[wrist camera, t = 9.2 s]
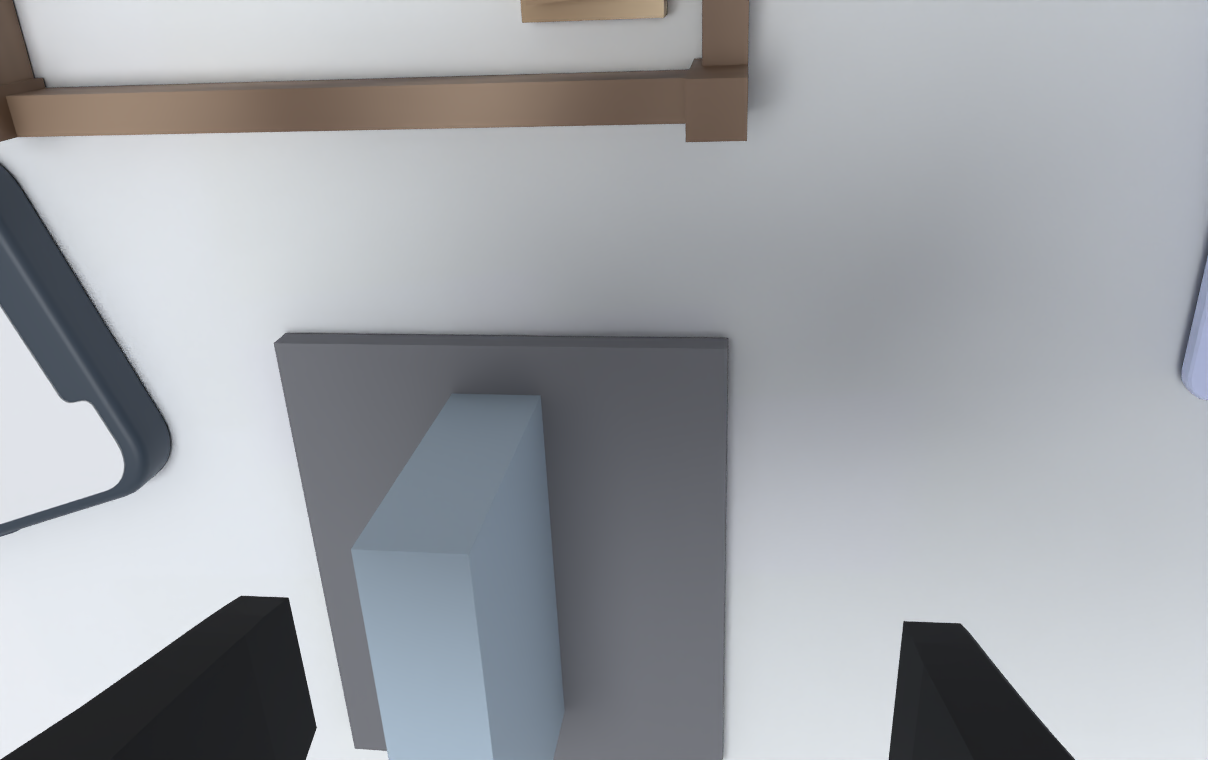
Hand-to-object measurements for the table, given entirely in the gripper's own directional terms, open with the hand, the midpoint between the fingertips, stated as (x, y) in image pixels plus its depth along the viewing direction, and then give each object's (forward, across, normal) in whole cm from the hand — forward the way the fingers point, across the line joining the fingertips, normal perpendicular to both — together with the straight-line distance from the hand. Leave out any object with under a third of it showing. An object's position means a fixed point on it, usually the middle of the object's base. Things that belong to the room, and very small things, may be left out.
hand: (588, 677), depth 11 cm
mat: (+10, +3, +6) cm, 12 cm away
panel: (+10, +3, +6) cm, 12 cm away
